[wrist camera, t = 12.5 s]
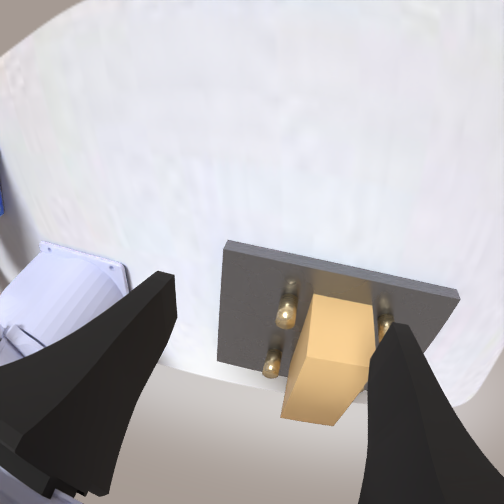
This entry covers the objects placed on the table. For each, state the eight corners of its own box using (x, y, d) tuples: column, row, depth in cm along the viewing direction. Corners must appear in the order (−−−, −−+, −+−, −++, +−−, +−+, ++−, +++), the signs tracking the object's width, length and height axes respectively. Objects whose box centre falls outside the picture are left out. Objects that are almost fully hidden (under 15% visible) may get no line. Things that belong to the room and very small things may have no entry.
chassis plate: (219, 352, 28) (210, 379, 25) (227, 240, 21) (213, 269, 18) (390, 384, 26) (392, 412, 24) (456, 289, 19) (467, 320, 17)
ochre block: (290, 364, 25) (280, 417, 21) (313, 293, 20) (306, 356, 16) (337, 372, 25) (333, 426, 21) (372, 305, 20) (376, 368, 16)
